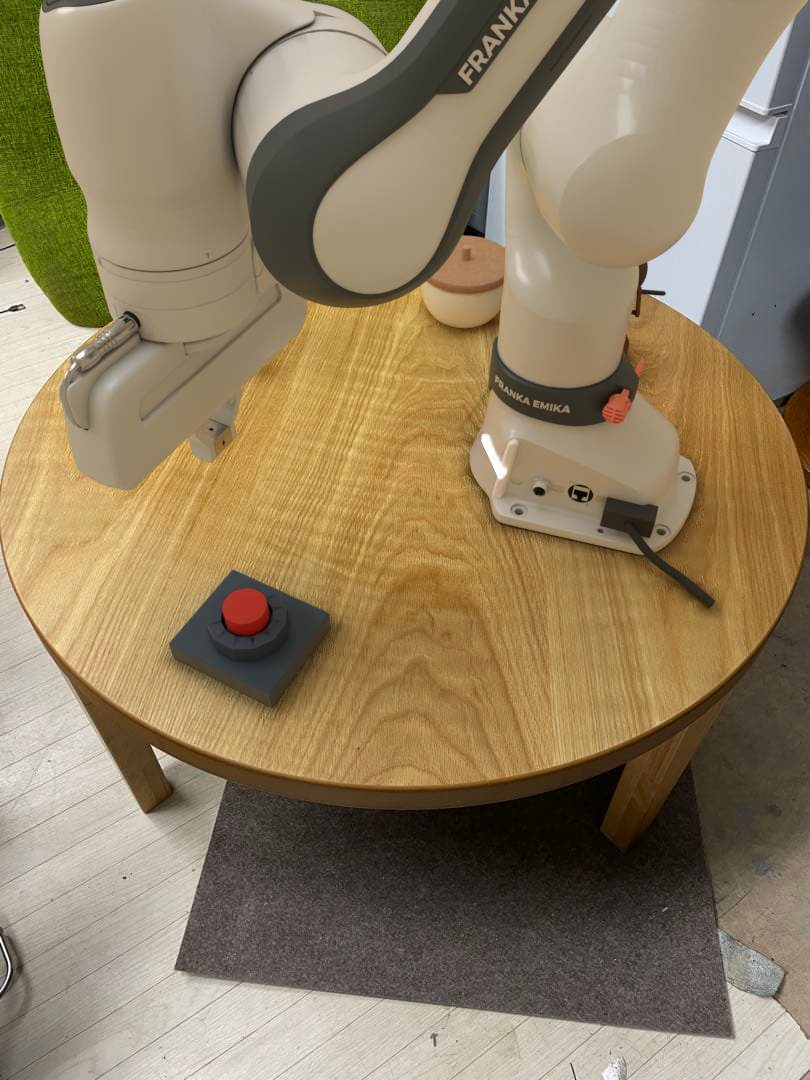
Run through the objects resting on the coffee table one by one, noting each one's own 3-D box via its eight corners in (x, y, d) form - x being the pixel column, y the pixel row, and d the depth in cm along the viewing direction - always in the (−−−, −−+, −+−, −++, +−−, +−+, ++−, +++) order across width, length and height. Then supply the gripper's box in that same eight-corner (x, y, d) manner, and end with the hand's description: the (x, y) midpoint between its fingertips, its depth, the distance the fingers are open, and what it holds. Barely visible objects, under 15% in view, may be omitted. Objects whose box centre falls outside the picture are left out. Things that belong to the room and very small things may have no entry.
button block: (331, 627, 75) (328, 600, 72) (272, 708, 70) (266, 682, 67) (236, 584, 78) (229, 555, 75) (173, 658, 73) (163, 631, 70)
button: (278, 611, 72) (275, 598, 70) (253, 643, 70) (250, 630, 68) (242, 594, 73) (239, 581, 71) (216, 625, 71) (213, 613, 69)
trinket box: (509, 344, 101) (517, 273, 94) (417, 343, 101) (418, 272, 94) (504, 292, 108) (511, 222, 101) (418, 291, 108) (419, 221, 101)
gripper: (99, 391, 44) (155, 564, 54) (318, 212, 56) (329, 383, 66) (7, 353, 46) (78, 527, 56) (237, 188, 57) (260, 357, 68)
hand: (215, 448), depth 61 cm, fingers closed
